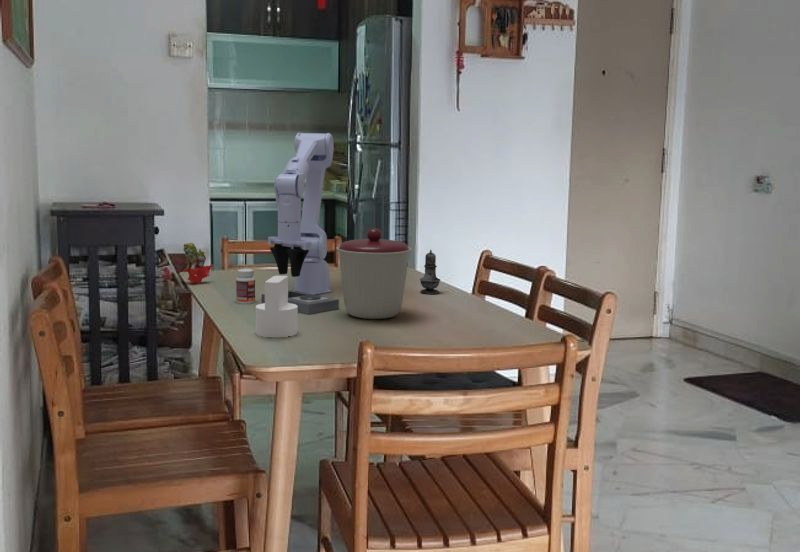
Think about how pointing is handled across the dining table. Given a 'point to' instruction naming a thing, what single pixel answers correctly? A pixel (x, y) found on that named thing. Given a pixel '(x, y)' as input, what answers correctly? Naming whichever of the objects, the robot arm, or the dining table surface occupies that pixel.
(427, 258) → the salt shaker
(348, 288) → the canister
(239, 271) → the pill bottle
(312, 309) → the socket strip
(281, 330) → the base with upright slab
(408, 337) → the dining table surface
